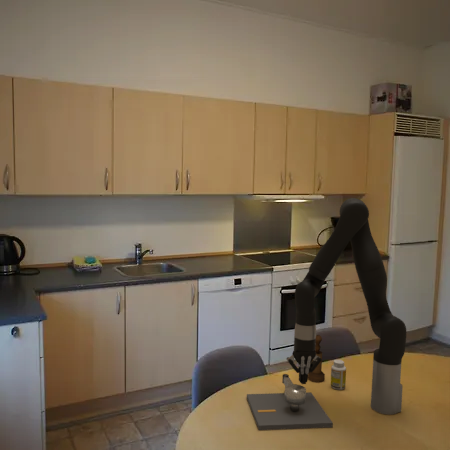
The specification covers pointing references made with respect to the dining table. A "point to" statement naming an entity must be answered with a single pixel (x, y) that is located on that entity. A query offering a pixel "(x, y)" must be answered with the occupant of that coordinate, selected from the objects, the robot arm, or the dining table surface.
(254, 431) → the dining table surface
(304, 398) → the lever handle
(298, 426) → the plate
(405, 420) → the dining table surface
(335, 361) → the supplement bottle
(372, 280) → the robot arm
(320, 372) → the wooden pepper mill
